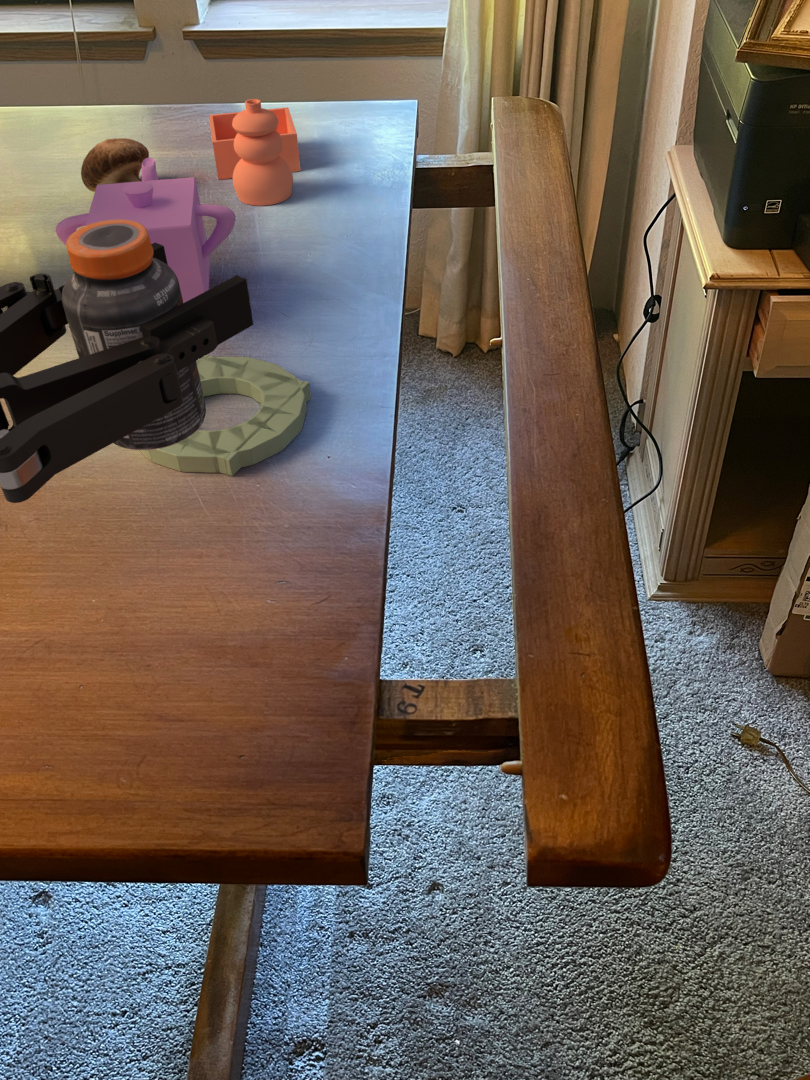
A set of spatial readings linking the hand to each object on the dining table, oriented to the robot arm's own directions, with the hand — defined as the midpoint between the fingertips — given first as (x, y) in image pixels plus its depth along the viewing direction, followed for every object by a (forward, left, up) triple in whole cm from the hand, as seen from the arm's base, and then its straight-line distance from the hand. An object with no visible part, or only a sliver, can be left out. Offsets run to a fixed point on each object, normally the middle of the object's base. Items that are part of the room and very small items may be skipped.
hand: (202, 283), depth 53 cm
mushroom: (-45, +41, -18) cm, 63 cm away
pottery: (-33, +51, -18) cm, 63 cm away
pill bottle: (-1, -5, -7) cm, 8 cm away
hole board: (-9, +9, -18) cm, 22 cm away
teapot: (-24, +22, -18) cm, 38 cm away
